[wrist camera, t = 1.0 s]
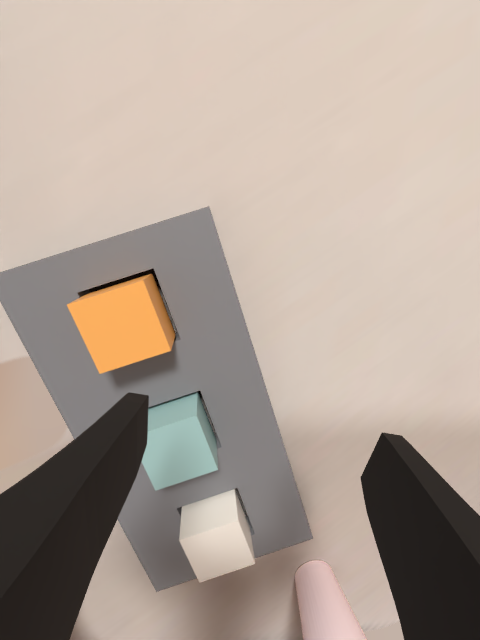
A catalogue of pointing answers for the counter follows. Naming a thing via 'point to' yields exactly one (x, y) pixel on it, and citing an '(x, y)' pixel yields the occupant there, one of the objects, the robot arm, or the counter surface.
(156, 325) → the orange button
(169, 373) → the button panel
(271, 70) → the counter surface
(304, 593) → the smoothie
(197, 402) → the teal button
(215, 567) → the white button
